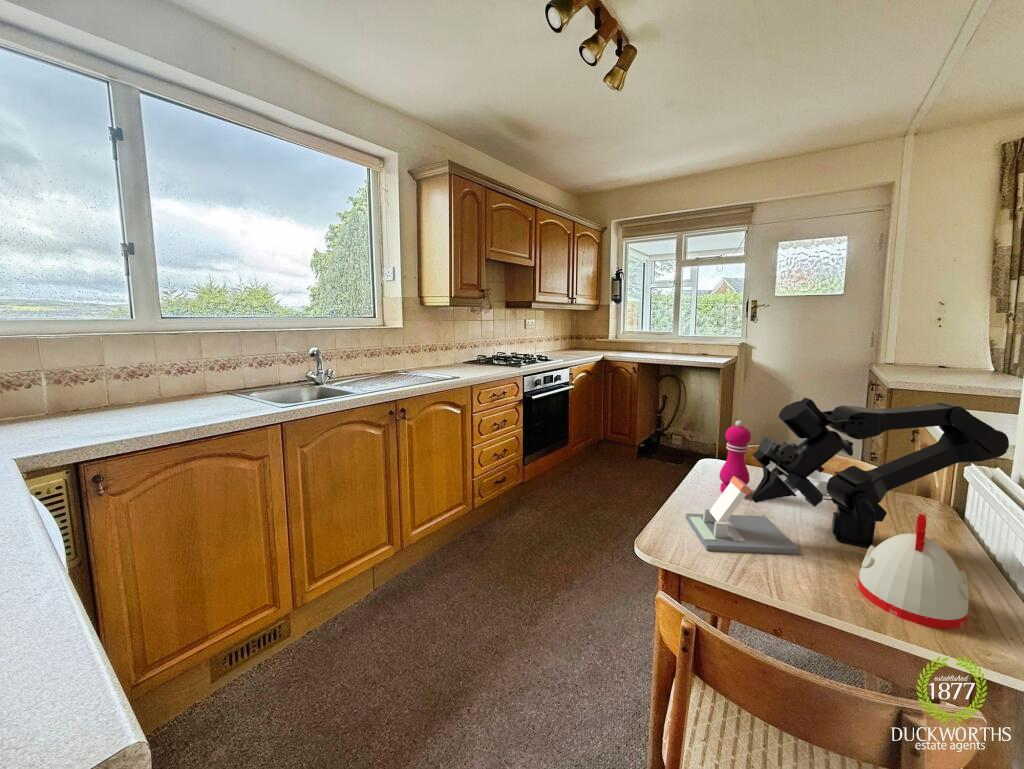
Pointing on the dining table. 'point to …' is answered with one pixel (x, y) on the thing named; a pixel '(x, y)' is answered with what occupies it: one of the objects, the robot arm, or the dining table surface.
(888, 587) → the kitchen timer
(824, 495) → the teacup
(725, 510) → the switch lever
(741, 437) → the pepper mill
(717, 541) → the switch panel
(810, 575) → the dining table surface
